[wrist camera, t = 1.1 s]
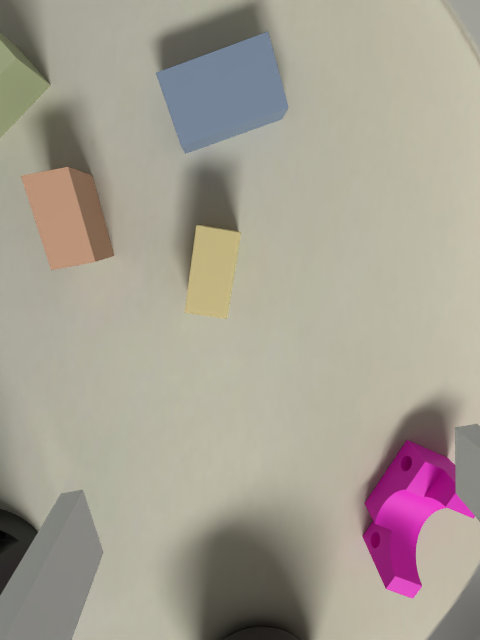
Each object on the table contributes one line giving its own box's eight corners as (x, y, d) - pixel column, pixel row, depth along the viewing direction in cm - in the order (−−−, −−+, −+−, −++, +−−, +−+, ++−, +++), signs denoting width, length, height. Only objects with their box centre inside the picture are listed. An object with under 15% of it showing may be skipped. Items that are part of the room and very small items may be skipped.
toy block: (406, 438, 46) (440, 479, 39) (446, 456, 47) (487, 499, 40) (346, 529, 49) (367, 582, 42) (385, 544, 50) (412, 598, 43)
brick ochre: (226, 304, 40) (227, 318, 35) (190, 299, 40) (184, 312, 34) (238, 231, 39) (241, 232, 33) (200, 224, 38) (196, 225, 32)
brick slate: (185, 154, 37) (181, 146, 33) (163, 89, 35) (155, 72, 31) (281, 119, 36) (288, 107, 32) (263, 52, 35) (268, 31, 31)
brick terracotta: (114, 255, 39) (95, 261, 33) (77, 262, 39) (51, 270, 33) (92, 175, 37) (68, 166, 31) (53, 183, 37) (21, 175, 31)
